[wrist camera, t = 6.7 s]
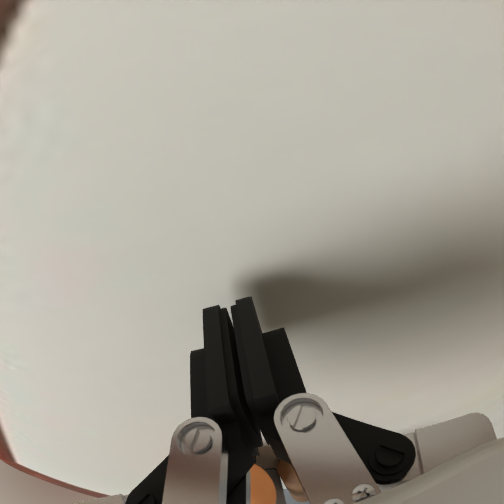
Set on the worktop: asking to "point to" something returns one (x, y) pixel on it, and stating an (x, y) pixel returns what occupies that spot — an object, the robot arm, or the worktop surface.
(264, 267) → the worktop surface
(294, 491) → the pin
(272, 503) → the ball
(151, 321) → the worktop surface
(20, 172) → the worktop surface
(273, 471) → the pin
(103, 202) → the worktop surface
